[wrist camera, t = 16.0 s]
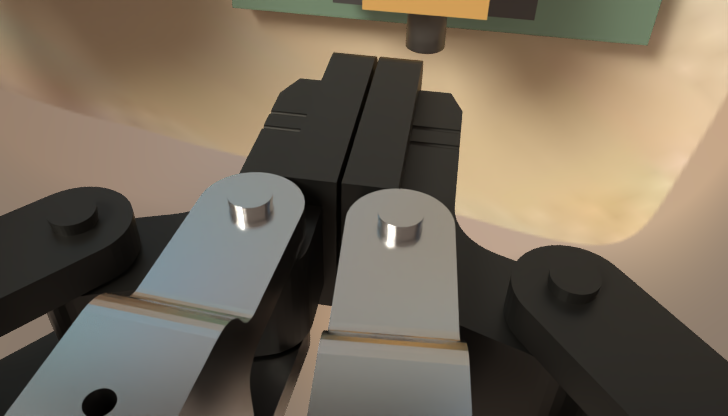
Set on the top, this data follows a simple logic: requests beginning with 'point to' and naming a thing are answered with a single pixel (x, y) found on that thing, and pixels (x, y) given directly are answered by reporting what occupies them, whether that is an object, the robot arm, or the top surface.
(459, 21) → the board
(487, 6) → the keyed plug
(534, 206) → the top surface
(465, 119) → the top surface
